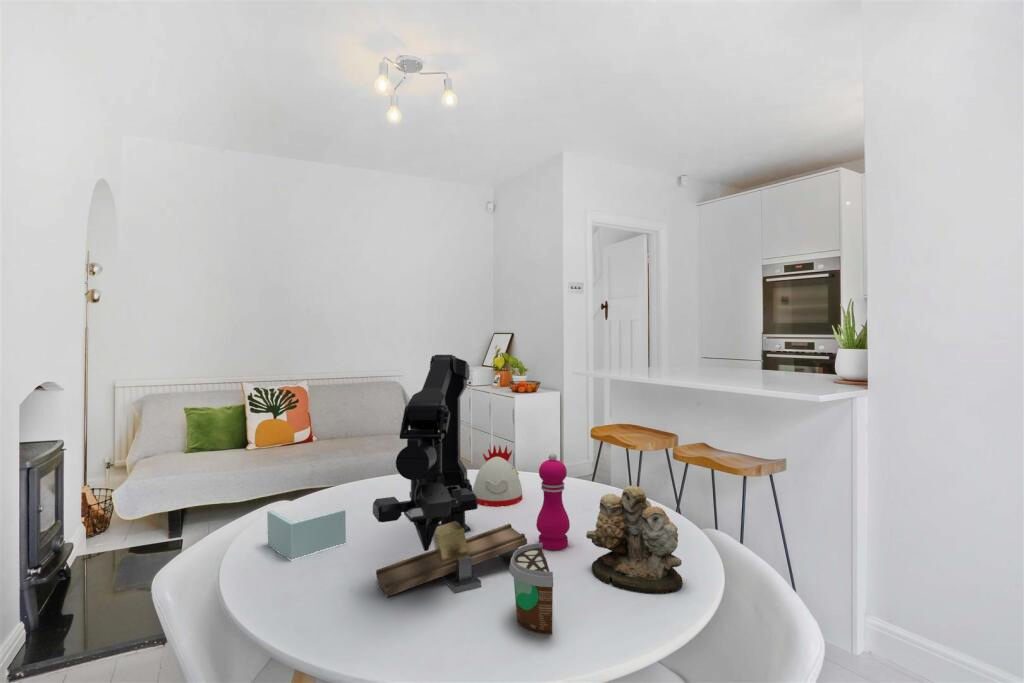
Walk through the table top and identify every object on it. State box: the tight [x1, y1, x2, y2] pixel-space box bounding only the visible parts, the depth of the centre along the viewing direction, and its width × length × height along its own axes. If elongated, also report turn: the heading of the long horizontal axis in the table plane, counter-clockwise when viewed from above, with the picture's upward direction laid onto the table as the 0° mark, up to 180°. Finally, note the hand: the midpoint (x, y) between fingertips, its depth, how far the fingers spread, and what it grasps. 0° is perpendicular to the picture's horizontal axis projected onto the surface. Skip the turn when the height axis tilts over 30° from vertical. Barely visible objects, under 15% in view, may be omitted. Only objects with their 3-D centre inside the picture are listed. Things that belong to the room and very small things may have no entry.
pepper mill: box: [535, 452, 571, 551], centre depth 116 cm, size 7×7×20 cm
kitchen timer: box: [472, 444, 523, 508], centre depth 148 cm, size 14×14×15 cm
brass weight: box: [432, 521, 468, 562], centre depth 102 cm, size 5×4×6 cm
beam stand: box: [441, 547, 520, 594], centre depth 105 cm, size 16×15×5 cm
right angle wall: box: [267, 508, 347, 560], centre depth 117 cm, size 12×12×8 cm
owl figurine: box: [585, 484, 684, 595], centre depth 100 cm, size 18×12×17 cm, turn 63°
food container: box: [508, 542, 554, 635], centre depth 86 cm, size 12×6×10 cm, turn 5°
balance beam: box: [375, 523, 528, 597], centre depth 102 cm, size 28×8×2 cm, turn 116°
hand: (425, 550), depth 100 cm, fingers closed
